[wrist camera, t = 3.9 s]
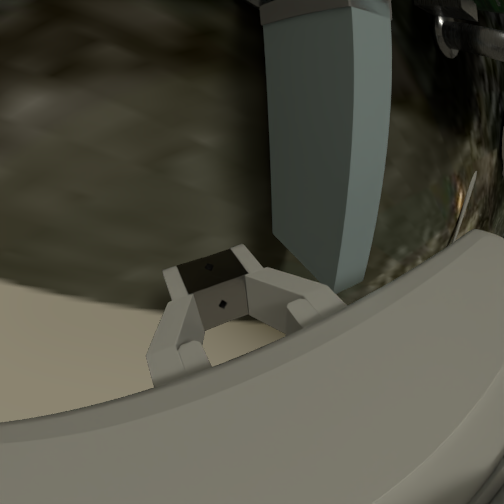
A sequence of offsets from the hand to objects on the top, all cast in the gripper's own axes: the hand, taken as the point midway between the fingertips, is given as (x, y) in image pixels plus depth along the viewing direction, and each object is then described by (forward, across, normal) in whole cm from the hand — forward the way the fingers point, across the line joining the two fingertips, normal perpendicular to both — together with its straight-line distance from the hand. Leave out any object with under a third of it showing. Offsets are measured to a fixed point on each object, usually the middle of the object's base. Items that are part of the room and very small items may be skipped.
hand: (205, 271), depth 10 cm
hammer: (+4, -21, -12) cm, 24 cm away
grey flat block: (+4, -6, -4) cm, 8 cm away
